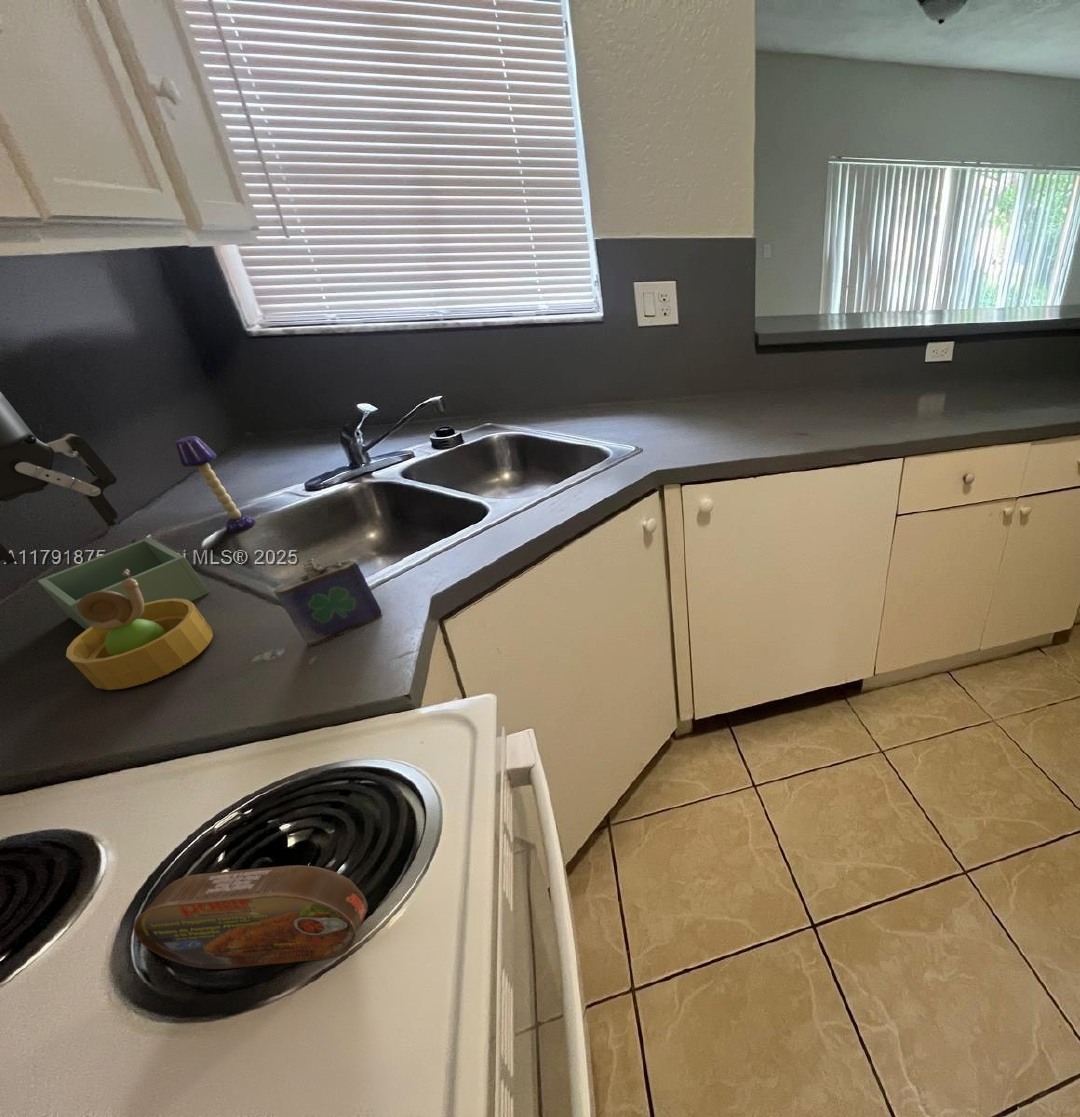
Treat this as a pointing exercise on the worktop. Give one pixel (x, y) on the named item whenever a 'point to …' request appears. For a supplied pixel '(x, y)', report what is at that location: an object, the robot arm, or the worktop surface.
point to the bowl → (143, 647)
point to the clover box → (328, 600)
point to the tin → (253, 917)
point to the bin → (126, 577)
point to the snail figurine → (120, 617)
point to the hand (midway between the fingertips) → (61, 542)
